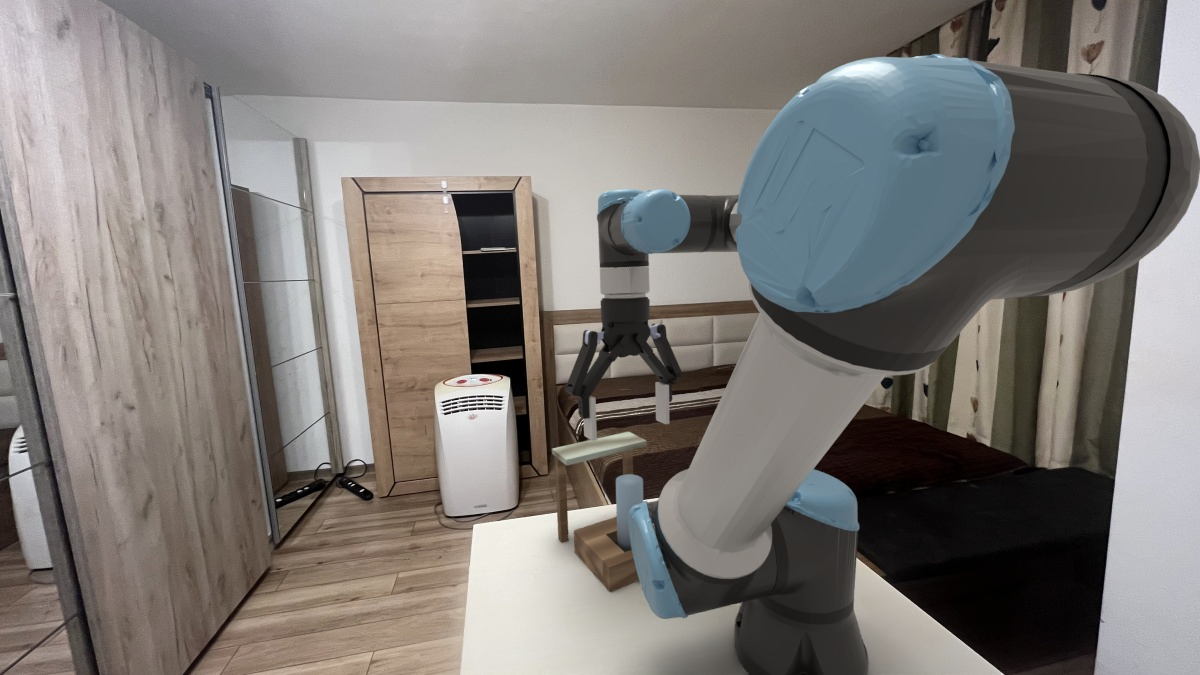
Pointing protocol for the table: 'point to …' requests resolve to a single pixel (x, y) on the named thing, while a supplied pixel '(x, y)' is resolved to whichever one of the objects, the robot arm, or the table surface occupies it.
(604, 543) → the socket station
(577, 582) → the table surface
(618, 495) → the peg
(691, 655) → the table surface
